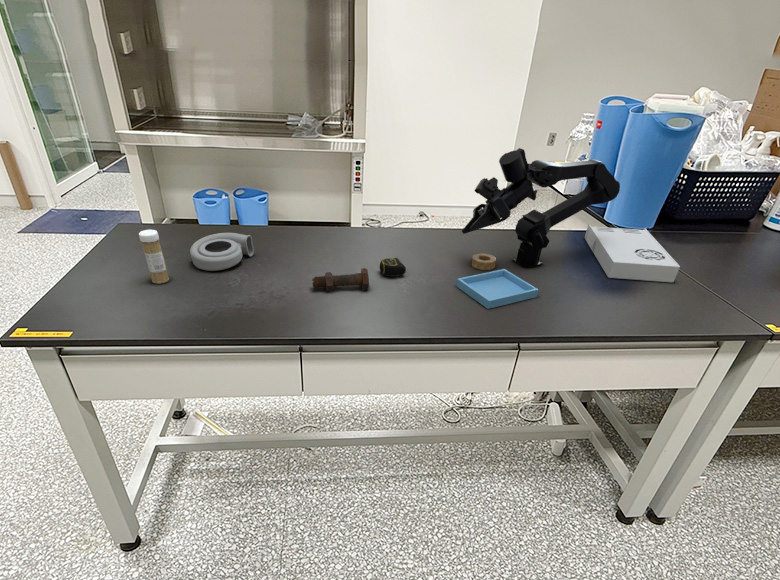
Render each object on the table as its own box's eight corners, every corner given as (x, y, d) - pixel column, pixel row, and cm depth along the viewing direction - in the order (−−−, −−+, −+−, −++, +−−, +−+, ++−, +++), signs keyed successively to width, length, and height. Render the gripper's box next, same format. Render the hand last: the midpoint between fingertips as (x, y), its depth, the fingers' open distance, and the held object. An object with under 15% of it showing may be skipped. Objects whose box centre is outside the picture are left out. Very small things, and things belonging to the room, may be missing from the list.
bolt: (313, 294, 136) (367, 290, 138) (313, 293, 132) (369, 289, 133) (311, 272, 136) (366, 269, 137) (311, 270, 131) (367, 266, 132)
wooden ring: (485, 259, 155) (486, 252, 154) (499, 268, 150) (500, 260, 149) (467, 262, 153) (468, 255, 151) (481, 271, 148) (482, 264, 146)
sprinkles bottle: (169, 276, 138) (157, 228, 130) (169, 283, 135) (157, 234, 127) (151, 278, 137) (138, 229, 129) (151, 285, 134) (138, 236, 125)
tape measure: (406, 277, 143) (407, 265, 141) (383, 280, 141) (384, 267, 139) (398, 268, 148) (399, 255, 146) (376, 270, 146) (376, 258, 144)
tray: (503, 276, 146) (504, 268, 144) (536, 297, 136) (538, 289, 134) (456, 286, 140) (457, 278, 138) (487, 309, 130) (489, 301, 128)
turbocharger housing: (182, 270, 144) (226, 280, 140) (176, 249, 140) (221, 258, 136) (217, 246, 156) (258, 254, 152) (213, 226, 152) (255, 234, 147)
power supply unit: (639, 241, 172) (644, 227, 169) (673, 282, 146) (680, 266, 143) (584, 238, 173) (588, 223, 170) (608, 278, 147) (613, 262, 144)
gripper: (486, 176, 145) (443, 210, 146) (507, 163, 127) (458, 201, 128) (506, 209, 148) (464, 242, 149) (530, 200, 130) (482, 238, 131)
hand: (466, 231), depth 139 cm, fingers open, 9 cm apart
